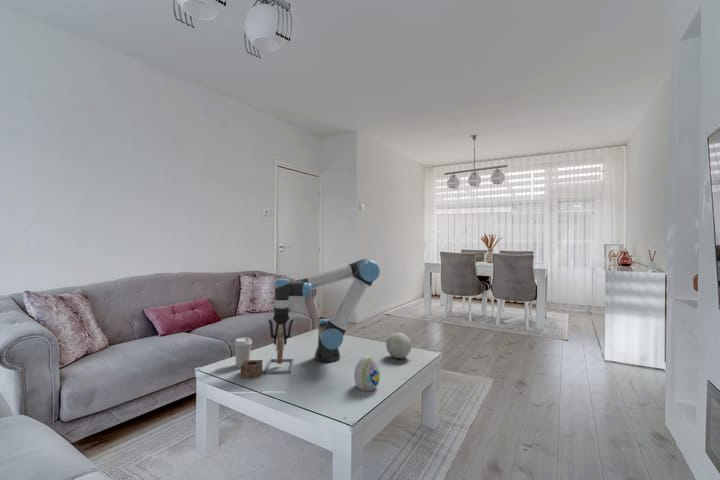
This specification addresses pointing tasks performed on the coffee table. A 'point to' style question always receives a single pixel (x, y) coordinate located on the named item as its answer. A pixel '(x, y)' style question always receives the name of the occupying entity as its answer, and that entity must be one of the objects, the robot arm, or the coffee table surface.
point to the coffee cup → (242, 350)
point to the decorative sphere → (398, 345)
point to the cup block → (251, 369)
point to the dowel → (280, 348)
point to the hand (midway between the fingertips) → (280, 350)
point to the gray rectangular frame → (279, 371)
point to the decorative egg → (367, 374)
